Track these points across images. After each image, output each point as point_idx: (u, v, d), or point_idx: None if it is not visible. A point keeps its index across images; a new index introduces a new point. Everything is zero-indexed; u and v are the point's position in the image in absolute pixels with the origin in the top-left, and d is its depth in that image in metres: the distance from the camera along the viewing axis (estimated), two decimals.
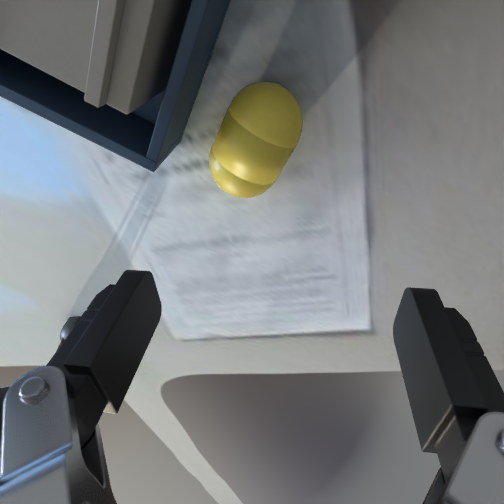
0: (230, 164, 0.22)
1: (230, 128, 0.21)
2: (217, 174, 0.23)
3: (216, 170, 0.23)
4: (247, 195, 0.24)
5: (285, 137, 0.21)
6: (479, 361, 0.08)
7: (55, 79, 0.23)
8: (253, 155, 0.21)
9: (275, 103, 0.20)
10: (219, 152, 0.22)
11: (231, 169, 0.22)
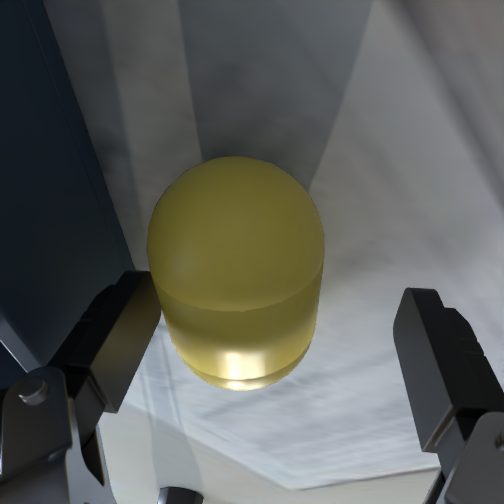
0: (201, 363, 0.10)
1: (163, 302, 0.09)
2: None
3: (189, 368, 0.11)
4: None
5: (283, 278, 0.08)
6: (479, 361, 0.08)
7: None
8: (232, 341, 0.09)
9: (216, 221, 0.07)
10: (175, 341, 0.10)
11: (208, 370, 0.10)
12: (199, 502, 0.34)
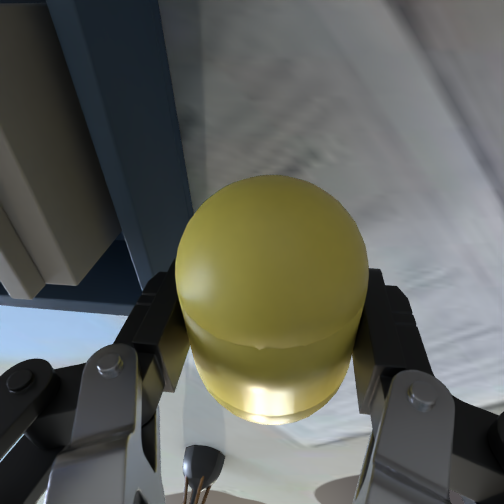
0: (247, 403, 0.09)
1: (204, 344, 0.08)
2: None
3: None
4: None
5: (345, 304, 0.07)
6: (410, 330, 0.09)
7: None
8: (289, 377, 0.08)
9: (275, 251, 0.07)
10: (211, 382, 0.09)
11: (255, 410, 0.09)
12: (221, 460, 0.38)
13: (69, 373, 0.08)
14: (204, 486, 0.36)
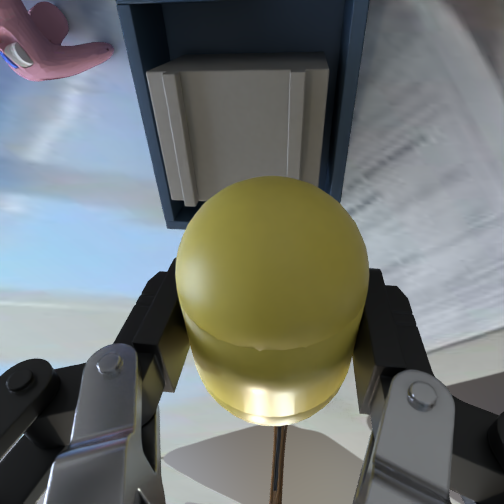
0: (248, 405, 0.09)
1: (204, 345, 0.08)
2: (233, 414, 0.10)
3: (227, 409, 0.10)
4: None
5: (345, 305, 0.07)
6: (410, 330, 0.09)
7: None
8: (289, 379, 0.08)
9: (275, 252, 0.07)
10: (212, 384, 0.09)
11: (256, 411, 0.09)
12: None
13: (69, 373, 0.08)
14: None
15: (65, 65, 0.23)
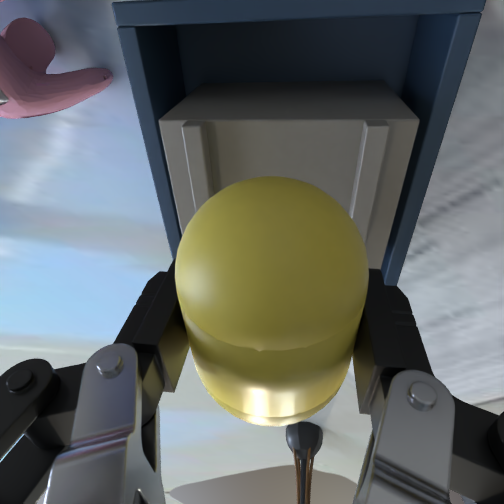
0: (247, 405, 0.09)
1: (204, 345, 0.08)
2: (233, 415, 0.10)
3: None
4: None
5: (345, 305, 0.07)
6: (410, 330, 0.09)
7: None
8: (289, 379, 0.08)
9: (274, 252, 0.07)
10: (211, 384, 0.09)
11: (255, 411, 0.09)
12: (321, 434, 0.43)
13: (69, 373, 0.08)
14: (310, 456, 0.41)
15: (51, 100, 0.18)
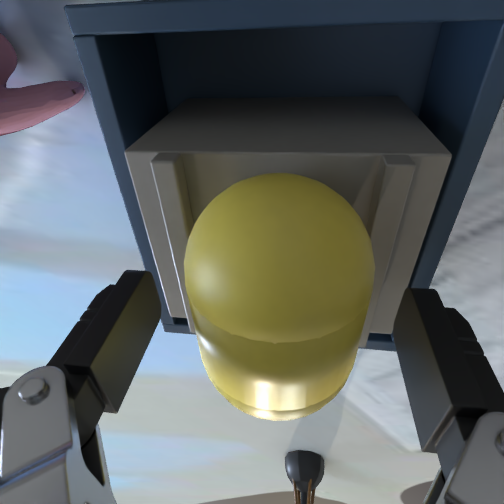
0: (260, 400, 0.09)
1: (217, 342, 0.08)
2: (243, 411, 0.10)
3: (237, 407, 0.10)
4: None
5: (356, 295, 0.07)
6: (479, 361, 0.08)
7: None
8: (302, 371, 0.08)
9: (288, 245, 0.07)
10: (223, 381, 0.09)
11: (268, 406, 0.09)
12: (323, 464, 0.40)
13: None
14: (311, 489, 0.39)
15: (9, 118, 0.15)
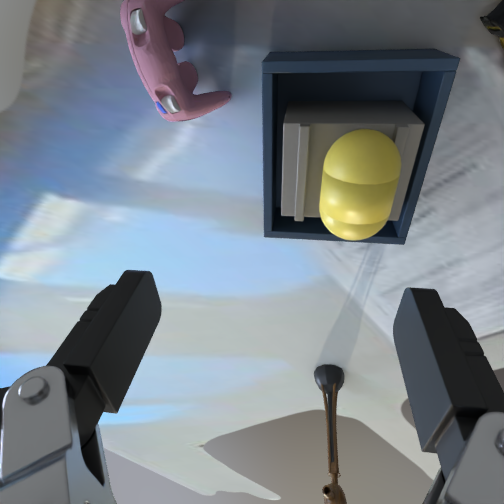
0: (362, 218, 0.23)
1: (350, 191, 0.22)
2: (350, 232, 0.24)
3: (347, 230, 0.23)
4: (378, 230, 0.24)
5: (398, 167, 0.22)
6: (479, 361, 0.08)
7: None
8: (381, 199, 0.22)
9: (379, 148, 0.21)
10: (345, 215, 0.23)
11: (364, 221, 0.23)
12: (343, 375, 0.54)
13: None
14: (335, 390, 0.52)
15: (200, 110, 0.29)
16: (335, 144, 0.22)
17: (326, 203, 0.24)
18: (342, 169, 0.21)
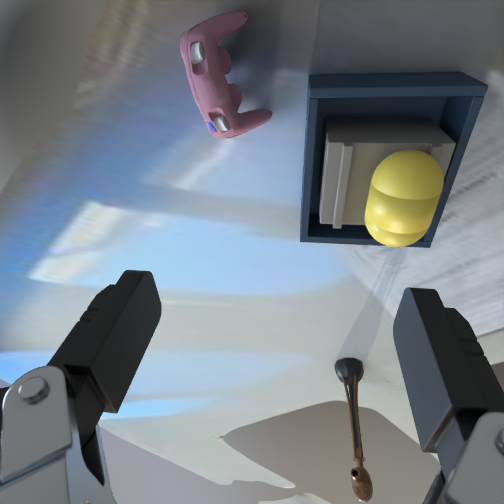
0: (414, 228, 0.26)
1: (405, 206, 0.24)
2: (401, 241, 0.26)
3: (399, 239, 0.26)
4: None
5: (442, 181, 0.25)
6: (479, 361, 0.08)
7: None
8: (430, 210, 0.25)
9: (430, 167, 0.24)
10: (399, 227, 0.26)
11: (415, 230, 0.26)
12: (362, 367, 0.57)
13: None
14: (355, 382, 0.55)
15: (245, 128, 0.32)
16: (386, 165, 0.25)
17: (378, 217, 0.26)
18: (398, 188, 0.24)
